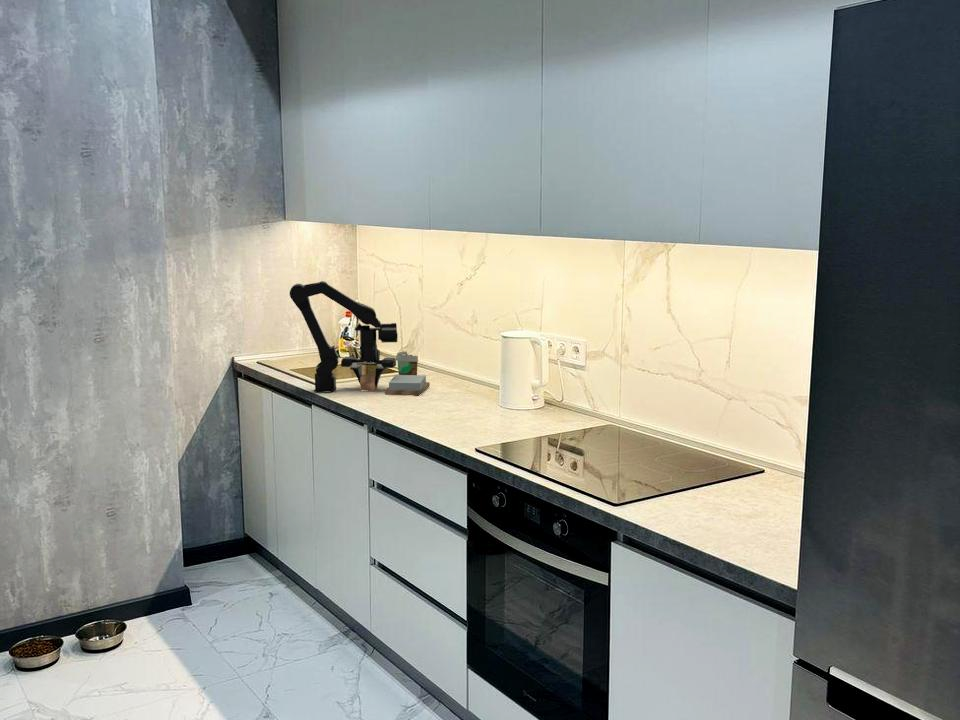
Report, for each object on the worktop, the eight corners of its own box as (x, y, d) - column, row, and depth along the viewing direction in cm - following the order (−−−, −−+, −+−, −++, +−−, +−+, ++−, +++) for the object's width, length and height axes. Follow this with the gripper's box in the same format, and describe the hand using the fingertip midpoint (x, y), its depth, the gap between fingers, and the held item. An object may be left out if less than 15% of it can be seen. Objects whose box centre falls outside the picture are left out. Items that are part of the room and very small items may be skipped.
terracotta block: (360, 390, 346) (360, 376, 346) (363, 388, 351) (363, 374, 350) (374, 391, 346) (374, 377, 345) (377, 388, 351) (377, 374, 350)
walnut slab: (385, 396, 340) (385, 389, 340) (397, 387, 356) (397, 381, 355) (418, 398, 338) (418, 390, 338) (429, 389, 354) (429, 382, 353)
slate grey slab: (388, 389, 340) (388, 382, 339) (395, 381, 354) (395, 374, 354) (420, 390, 339) (420, 383, 338) (425, 382, 354) (425, 375, 353)
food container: (391, 378, 370) (390, 352, 369) (406, 377, 373) (406, 351, 371) (402, 384, 359) (402, 357, 358) (418, 382, 362) (418, 355, 360)
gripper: (399, 340, 352) (399, 382, 355) (348, 339, 355) (349, 381, 357) (392, 344, 342) (392, 388, 344) (340, 343, 344) (341, 387, 346)
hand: (369, 386), depth 348 cm, fingers closed on terracotta block, 5 cm apart
